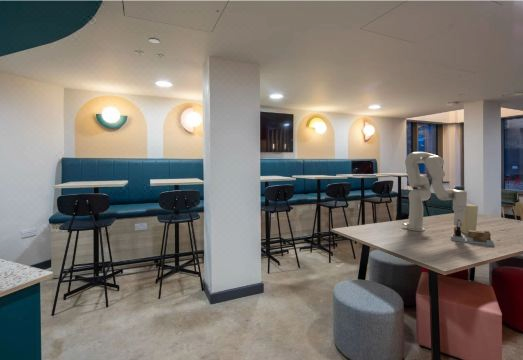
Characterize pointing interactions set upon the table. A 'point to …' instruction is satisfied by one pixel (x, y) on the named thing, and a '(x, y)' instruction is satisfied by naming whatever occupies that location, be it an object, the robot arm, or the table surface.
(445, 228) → the table surface
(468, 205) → the toy refrigerator
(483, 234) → the brown tabbed block
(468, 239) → the jig
